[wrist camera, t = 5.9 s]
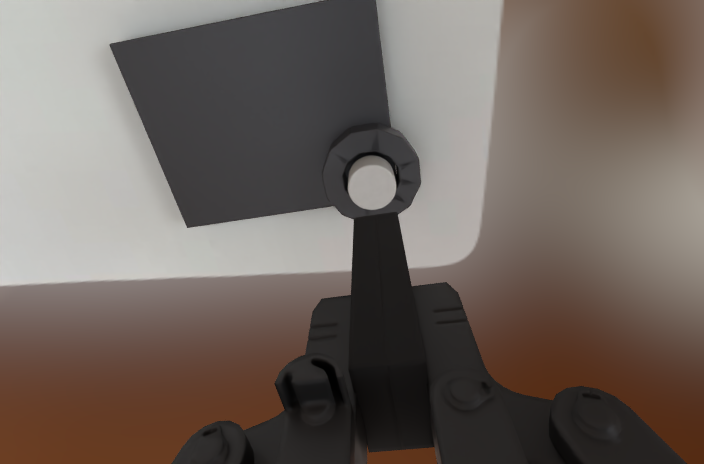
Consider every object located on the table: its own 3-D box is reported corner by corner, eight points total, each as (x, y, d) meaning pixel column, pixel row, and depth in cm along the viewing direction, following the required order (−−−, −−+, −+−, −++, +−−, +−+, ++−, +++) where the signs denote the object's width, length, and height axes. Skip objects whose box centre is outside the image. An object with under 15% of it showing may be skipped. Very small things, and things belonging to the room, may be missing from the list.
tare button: (390, 151, 21) (393, 161, 19) (396, 194, 22) (399, 206, 20) (344, 158, 21) (343, 169, 19) (352, 201, 22) (352, 213, 21)
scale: (397, -12, 19) (403, -19, 17) (417, 195, 25) (424, 215, 22) (123, 43, 21) (89, 45, 18) (199, 228, 26) (181, 250, 24)
